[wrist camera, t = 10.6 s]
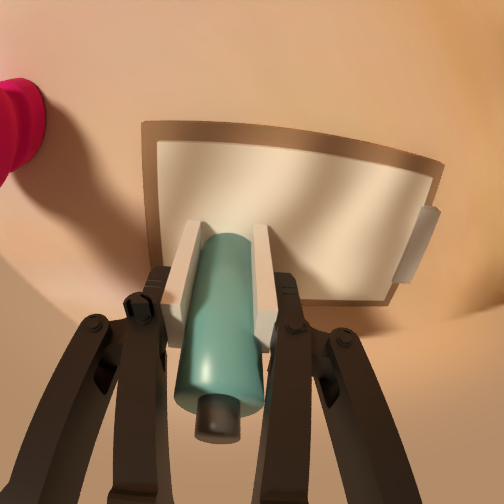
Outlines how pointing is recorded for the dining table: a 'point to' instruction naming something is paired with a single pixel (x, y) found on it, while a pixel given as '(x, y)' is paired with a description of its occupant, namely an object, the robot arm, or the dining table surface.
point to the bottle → (221, 343)
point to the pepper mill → (19, 124)
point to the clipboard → (294, 203)
